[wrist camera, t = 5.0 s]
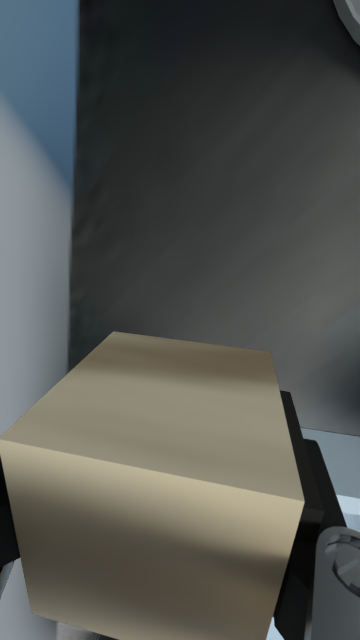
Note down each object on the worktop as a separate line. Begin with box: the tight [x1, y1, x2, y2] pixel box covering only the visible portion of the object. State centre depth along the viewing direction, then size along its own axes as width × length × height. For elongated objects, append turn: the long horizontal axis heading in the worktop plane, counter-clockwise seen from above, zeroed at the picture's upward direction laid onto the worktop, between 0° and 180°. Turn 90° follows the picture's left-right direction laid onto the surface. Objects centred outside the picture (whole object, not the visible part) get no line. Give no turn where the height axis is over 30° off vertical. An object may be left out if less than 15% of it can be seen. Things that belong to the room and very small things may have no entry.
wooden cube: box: [0, 331, 305, 640], centre depth 8 cm, size 5×5×5 cm
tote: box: [266, 428, 360, 640], centre depth 20 cm, size 22×15×5 cm
